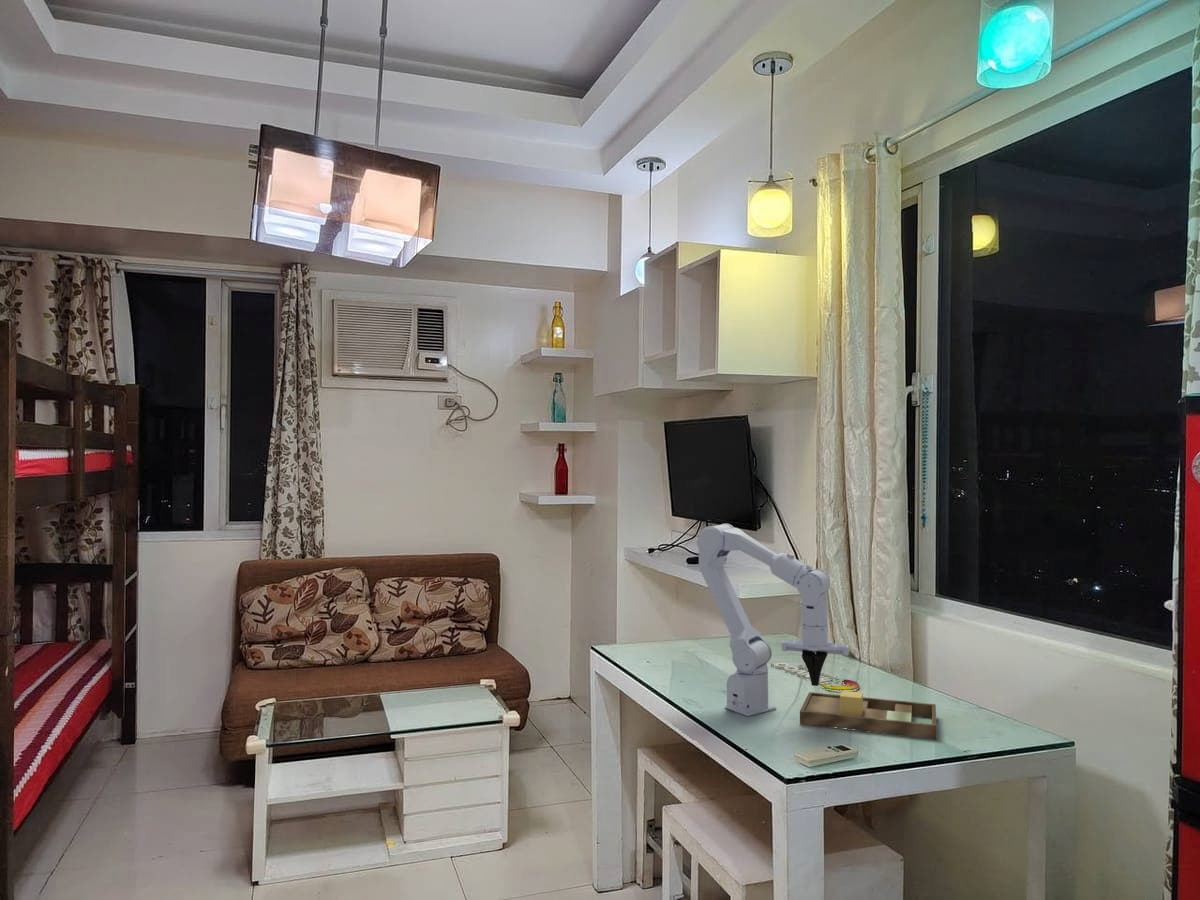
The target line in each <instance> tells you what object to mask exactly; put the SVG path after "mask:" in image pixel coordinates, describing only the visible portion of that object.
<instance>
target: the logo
mask: <svg viewBox="0 0 1200 900" xmlns="http://www.w3.org/2000/svg"><path fill="white" fill-rule="evenodd" d="M770 667H772V668H775V669H776V668H777V669H776V670H781V669H784V671H785V672H784V673H787V672H789V673H788V674H790V675H792V674H796V675H797V676H800V677H805V678H804V680H805V679H809V680H810V681H811V679H810V675H809V673H807V672H808V669H807V667H806V665H803V664H798V665H797V667H796V666H790V665H789V664H788V663H786V662H777V663H773V662H771V663H770ZM799 669H803V670H799ZM805 670H806V671H807V672H806V671H805ZM797 676H796V677H797ZM821 676H824V677H828V678H829V679H832V680H833V679H835V681H837V680H839V681H840V677H838V676H834V675H831V674H827V673H825V672H821V673H820V678H819V684H820V683H825V682H830V683H831V681H830V680H829V679H825V678H824V677H821ZM800 677H799V678H800ZM809 680H808V681H809ZM810 681H809V682H810ZM835 681H834V682H835ZM842 682H844V684H845V685H843V684H841V685H831V684H830V685H828V684H821V685H820V687H821V686H822V687H824V688H825V689H831V690H839V691H840V690H841V691H844V690H854V689H857V688H858V687H859V688H860V684H859V683H858V682H857V681H855V680H851V679H843V680H841V683H842Z"/></svg>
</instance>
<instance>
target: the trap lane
mask: <svg viewBox="0 0 1200 900" xmlns="http://www.w3.org/2000/svg"><path fill="white" fill-rule="evenodd" d="M912 715H914V716H912ZM920 716H922V717H923V718H930V717H931V723H925V722H918V721H917V722H915V721H913V717H920ZM801 724H802V725H801ZM799 725H801V726H803V725H804V726H810V725H815V726H814V727H819V726H825V727H824V728H828V727H837V728H847V729H855V730H862V731H861V732H864V731H870V732H869V733H873V732H878V733H877V734H882V733H885V734H884V735H891V734H892V735H894V736H900V735H902V737H909V736H911V738H918V737H919V739H920V738H921V739H927V738H930V739H929V740H936V739H937V707H936V703H926V702H916V701H906V700H896V699H885V698H875V697H865V696H863V712H862V716H853V715H843V714H840V694H835V693H823V692H822V693H821V692H812V691H808V694H807V696H806V698H805V700H804V702H803V704H802V706H801V708H800V710H799ZM837 728H836V729H837ZM855 730H854V731H855ZM937 740H938V739H937Z"/></svg>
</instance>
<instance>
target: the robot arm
mask: <svg viewBox="0 0 1200 900" xmlns="http://www.w3.org/2000/svg"><path fill="white" fill-rule="evenodd" d="M695 543H696V546H697V548H698V568H699V571H700V573H701V575H702V577H703V579H704V581H705V584H706V585H707V587H708V591H710V594H711V596H712V599H713V600H714V603H715V604H716V607H717V609H718V611H719V614H720V615H721V618H722V619H723V622H724V624H725V626H726V628H727V630H728V632H729V634H730V639H729V647H730V649H731V653H732V655H731V656H732V657H731V658H732V662H733V665H734V666H735V668H736V671H734V673H733V674H730V675H729V676H728V677H727V680H726V704H725V705H724V708H725V709H728V710H730V711H731V712H735V713H739V714H741V715H743V716H745V717H746V716H747V717H750V716H754V715H757V714H760V713H761V714H762V713H764V712H769V711H773V710H776V709H777V706H776V705H772V704H769V668H768V663H769V661H770V660H771V659H772V656H773V653H772V652H773V650H772V648H771V645H770V644H769V643H768V642H767V640H765V639H764V638H763V637H762V635H761V633H760V631H759V630H757V629H756V628H755V627H753V626H752V625H751V622H750V620H749V618H748V616H747V614H746V612H745V610H744V607H743V605H742V604H741V602H740V599H739V597H738V595H737V592H736V591H735V589H734V587H733V585H732V583H731V580H730V578H729V576H728V574H727V572H726V570H725V568H724V564H725V562H726V558H727V556H728V554H730V552H731V551H741V552H742V553H744V554H747V556H750V557H752V558H754V559H756V560H758V561H759V562H761V563H763V564H765V565H767V566H769V568H770V572H771V574H772V575H773V576H776V577H777V578H778V579H780V580H782V581H784V582H785V583H787V584H789V586H791V587H794V588H795V589H796V588H797V589H796V590H797V592H798V594H800V598H801V602H800V612H801V613H800V614H801V615H800V618H801V619H800V620H801V622H800V623H801V626H800V628H801V640H782V641H781V651H782V652H787V651H789V652H802V653H801V658H802V661H803V662H804V666H806V667H807V669H808V672H809V675H810V679H811V682H810V683H811V686H814V687H818V686H820V685H819V678H820V673H822V669H823V666H824V664H825V662H826V659H827V657H828V655H829V654H830V655H831V654H832V655H842V656H847V657H848V656H849V653H850V652H849V645H848V644H839V643H834V642H833V643H832V642H829V641H828V640H829V637H828V635H829V633H828V632H829V631H828V623H829V622H828V596H827V595H828V594H827V592H828V590H829V589H830V586H831V580H830V577H829V575H828V574H827V573H826V572H824V570H823V569H821V568H813V566H812V565H811V564H805V563H803V562H802V561H800V560H799V559H796V558H795V554H793V553H792V552H788V553H786V552H780V553H777V552H775V551H773V550H772V549H770V548H768V547H767V546H765V545H764V544H762V543H761V542H760V541H757V540H756V539H754V538H753V537H751V536H750V535H748V534H747V533H745V532H744V531H743V530H742V529H740V528H738V527H734V526H733V525H732V524H730V523H721V524H719V525H718V524H717V525H714V526H713V525H712V526H711V525H709V526H706V527H704V528H703V529H702V530H701V531H700V532H699V535H698V537H697V540H696V542H695Z"/></svg>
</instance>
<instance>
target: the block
mask: <svg viewBox="0 0 1200 900" xmlns="http://www.w3.org/2000/svg"><path fill="white" fill-rule="evenodd" d="M839 695H840V714H843V715H853V716H862V712H863V697H864V696H863V695H864V693H863V691H861V692H860V691H854V692H852V691H841V692H840V694H839Z"/></svg>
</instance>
